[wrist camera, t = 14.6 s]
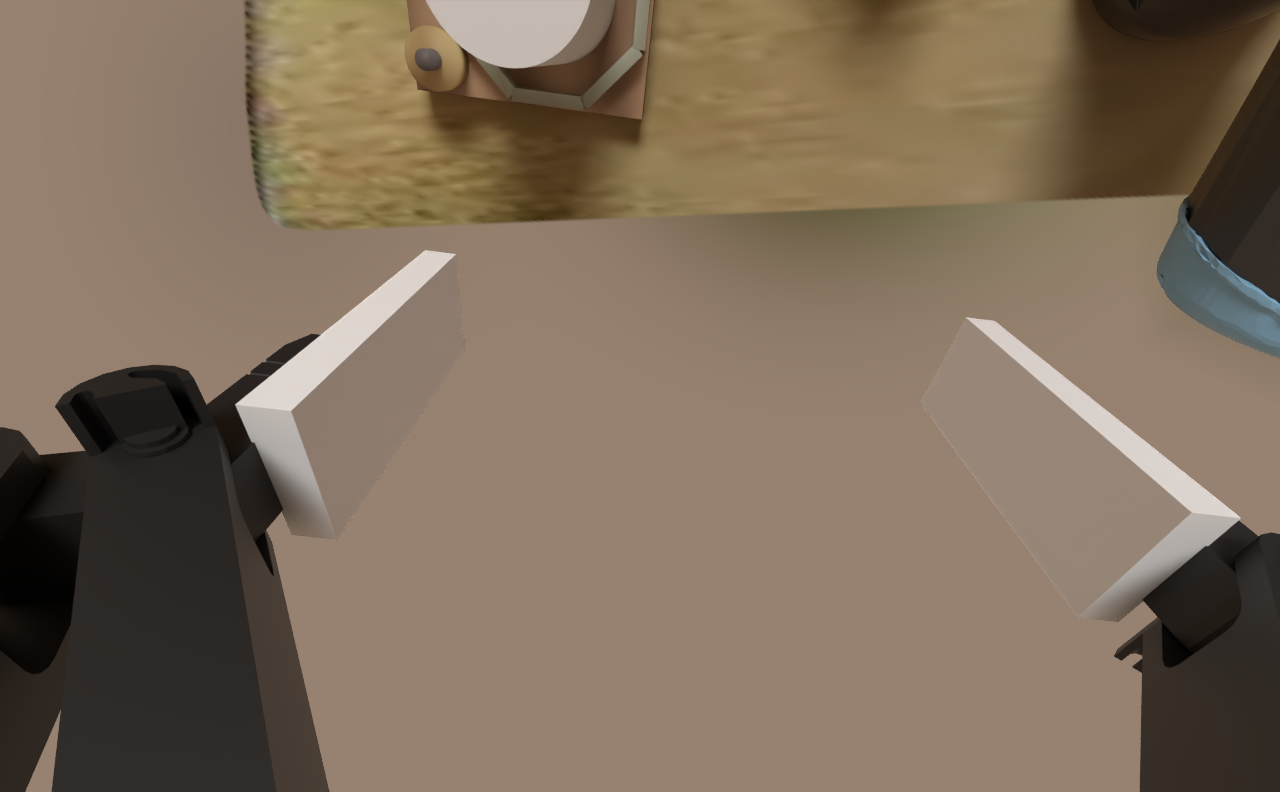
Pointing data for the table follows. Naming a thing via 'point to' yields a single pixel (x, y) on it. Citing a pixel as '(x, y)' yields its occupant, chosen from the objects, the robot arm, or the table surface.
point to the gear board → (585, 85)
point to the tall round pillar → (525, 29)
